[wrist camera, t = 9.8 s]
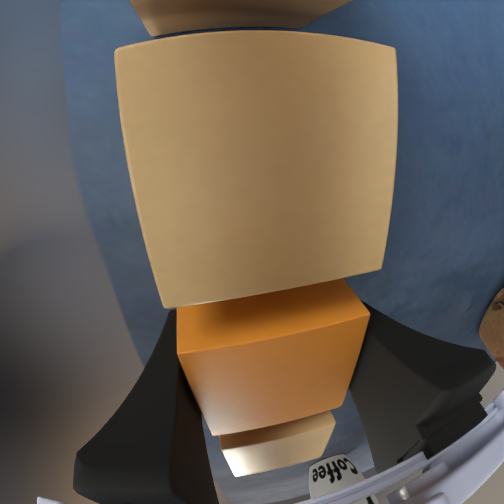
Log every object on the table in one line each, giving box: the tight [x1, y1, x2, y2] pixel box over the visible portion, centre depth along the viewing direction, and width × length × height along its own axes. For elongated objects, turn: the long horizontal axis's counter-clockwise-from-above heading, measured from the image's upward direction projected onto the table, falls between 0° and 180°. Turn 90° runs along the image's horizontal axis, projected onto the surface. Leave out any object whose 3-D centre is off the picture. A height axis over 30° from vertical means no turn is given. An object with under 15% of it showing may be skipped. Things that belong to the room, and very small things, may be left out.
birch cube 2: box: [114, 30, 398, 309], centre depth 7 cm, size 5×5×5 cm
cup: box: [309, 454, 379, 504], centre depth 25 cm, size 8×8×10 cm
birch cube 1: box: [219, 410, 336, 476], centre depth 13 cm, size 5×5×5 cm
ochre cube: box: [177, 278, 370, 436], centre depth 10 cm, size 5×5×5 cm
